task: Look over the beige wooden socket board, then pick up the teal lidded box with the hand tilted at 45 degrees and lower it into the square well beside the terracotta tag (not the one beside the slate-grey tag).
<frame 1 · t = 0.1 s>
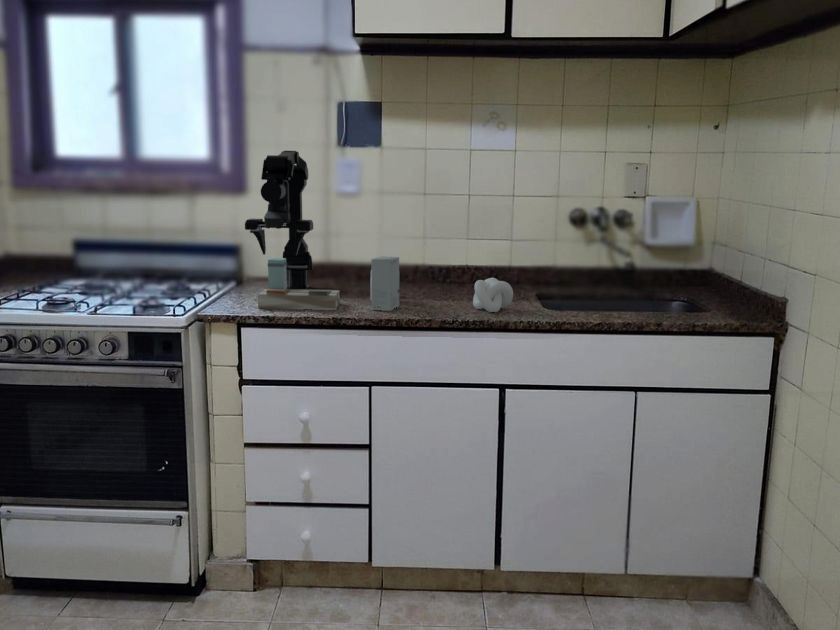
hand: (280, 254, 221), 15 cm above the countertop, tool pointing down, fingers open, 9 cm apart
socket board: (299, 305, 222), on the countertop
skincare box: (385, 309, 220), on the countertop
teal lidded box: (278, 300, 230), on the countertop
white knot: (492, 311, 220), on the countertop
jar: (384, 301, 231), on the countertop
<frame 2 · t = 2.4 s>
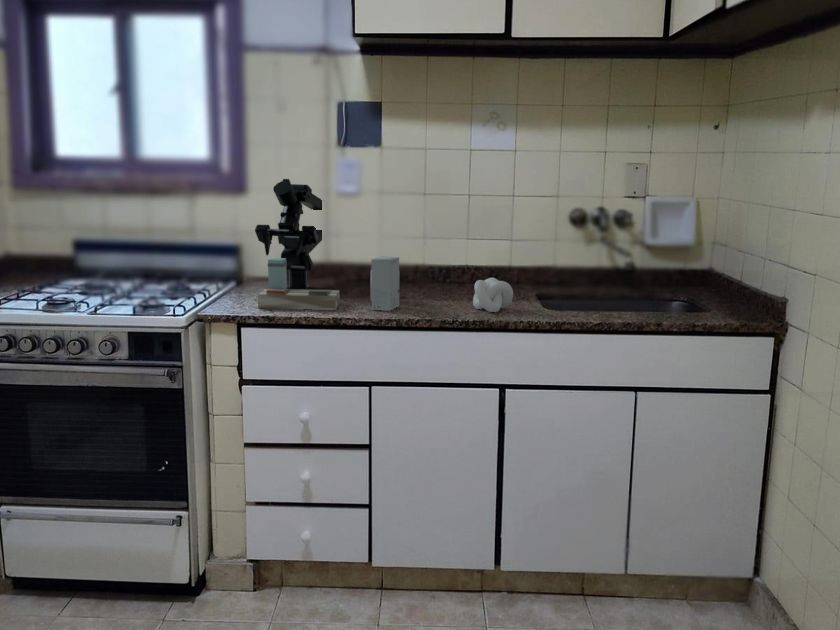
hand: (281, 255, 233), 13 cm above the countertop, tool tilted 45°, fingers open, 9 cm apart
nothing on the countertop moved.
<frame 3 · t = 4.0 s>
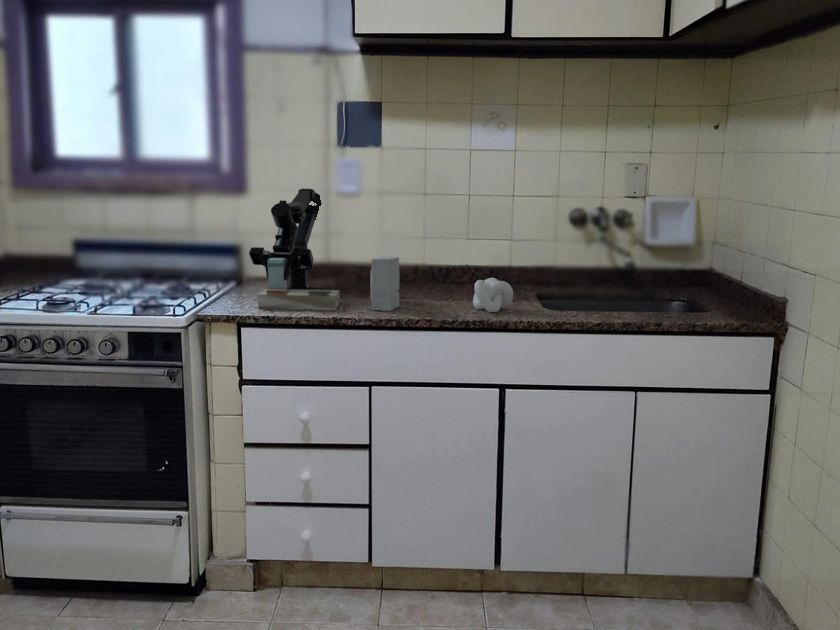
hand: (276, 279, 227), 7 cm above the countertop, tool tilted 45°, fingers closed on teal lidded box, 5 cm apart
teal lidded box: (278, 300, 230), on the countertop, touching gripper
everything else where it was.
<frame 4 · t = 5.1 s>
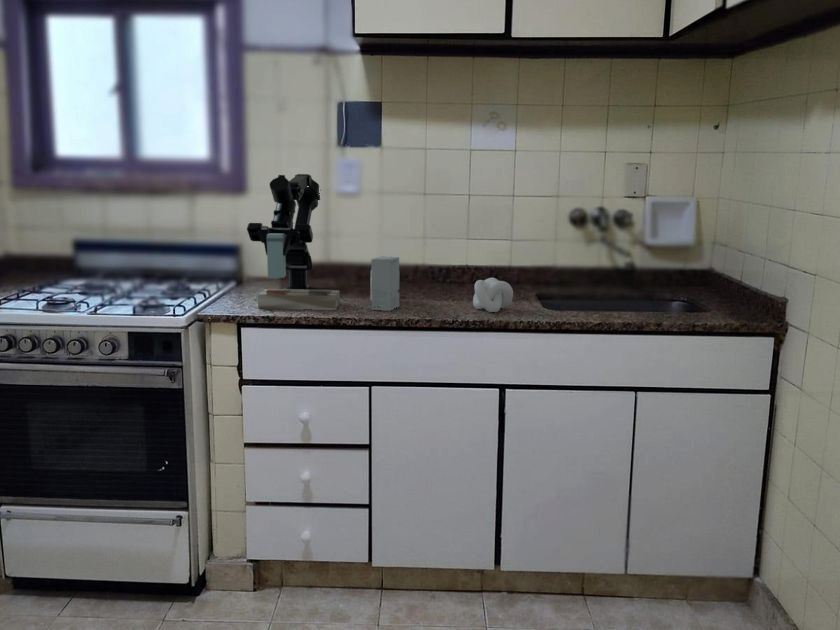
hand: (275, 254, 222), 14 cm above the countertop, tool tilted 45°, fingers closed on teal lidded box, 5 cm apart
teal lidded box: (277, 276, 224), point 8 cm above the countertop, touching gripper
everything else where it was.
when the fingers open (8 cm above the countertop, at t = 6.7 s): teal lidded box stays where it is, resting on socket board.
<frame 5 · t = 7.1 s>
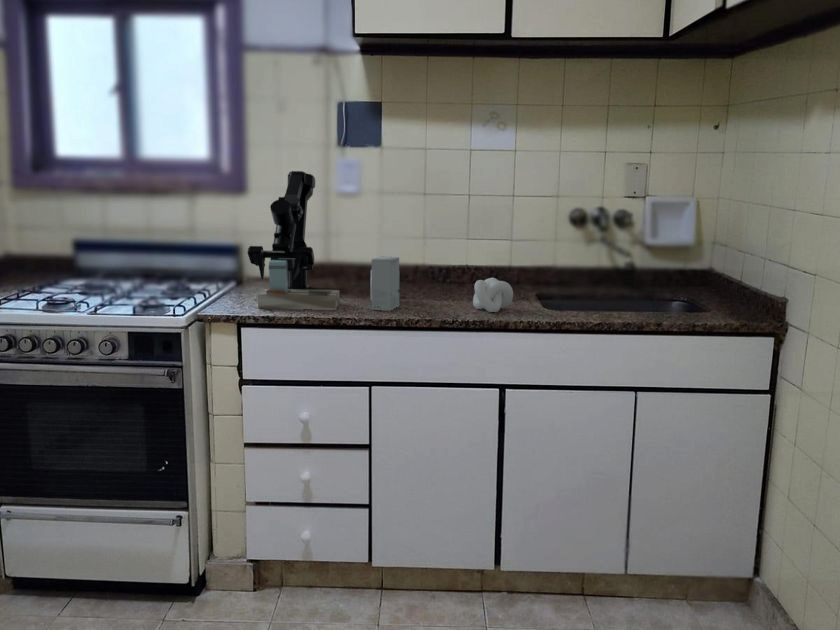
hand: (277, 278, 219), 8 cm above the countertop, tool tilted 45°, fingers open, 9 cm apart
teal lidded box: (279, 303, 222), resting on socket board
everything else where it was.
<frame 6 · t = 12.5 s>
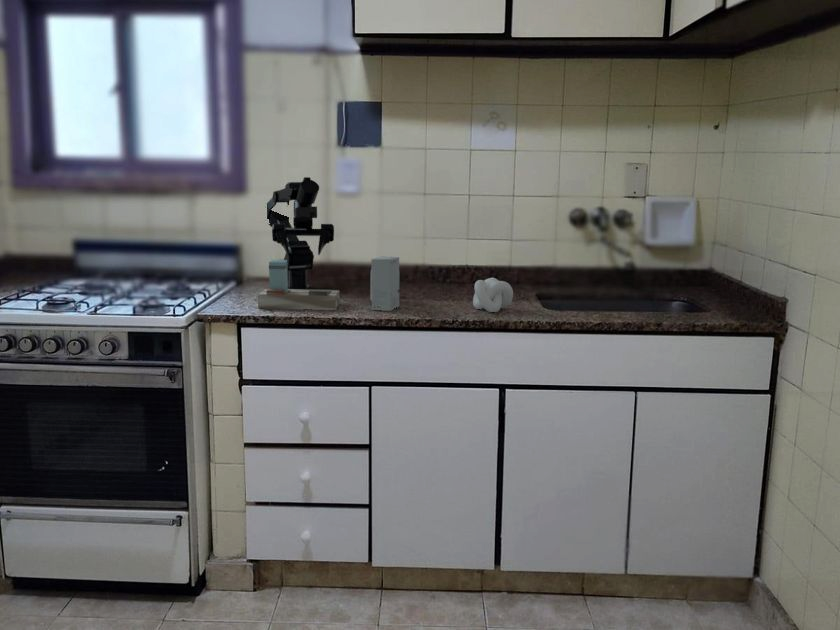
hand: (303, 254, 230), 14 cm above the countertop, tool tilted 45°, fingers open, 9 cm apart
nothing on the countertop moved.
at the end: teal lidded box 0.1 cm from the target spot on the socket board, point 0.5 cm above the socket board's base; teal lidded box tilted 0°; the gripper is holding nothing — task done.
